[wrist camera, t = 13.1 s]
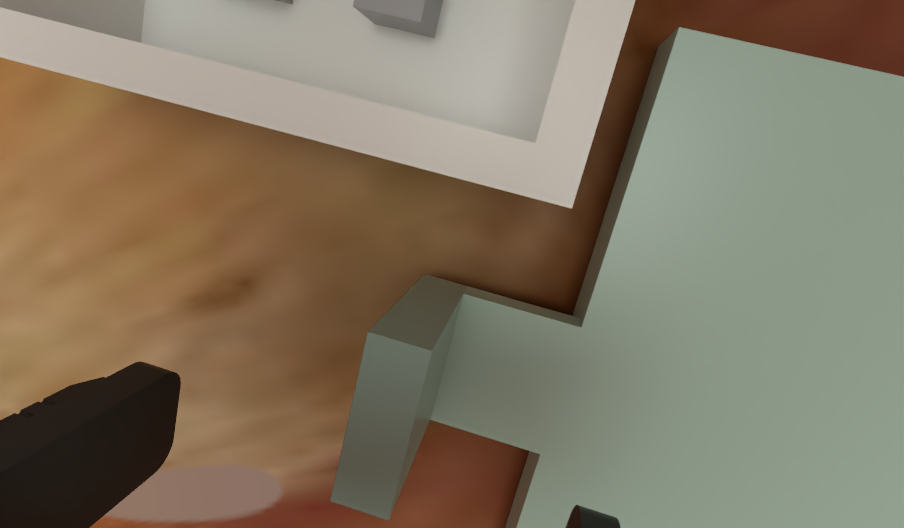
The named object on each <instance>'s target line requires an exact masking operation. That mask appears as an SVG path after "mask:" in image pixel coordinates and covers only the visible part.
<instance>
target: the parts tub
mask: <svg viewBox="0 0 904 528" xmlns="http://www.w3.org/2000/svg"><path fill="white" fill-rule="evenodd" d="M634 3H635V0H0V57H2V58H5V59H9V60H13V61H17V62H21V63H24V64H28V65H32V66H36V67H39V68H43V69H47V70H51V71H55V72H58V73H62V74H66V75H70V76H73V77H77V78H81V79H85V80H88V81H92V82H96V83H100V84H104V85H107V86H111V87H115V88H119V89H122V90H126V91H130V92H134V93H137V94H141V95H145V96H149V97H153V98H156V99H160V100H164V101H168V102H171V103H175V104H179V105H183V106H186V107H190V108H194V109H198V110H202V111H205V112H209V113H213V114H217V115H220V116H224V117H228V118H232V119H236V120H239V121H243V122H247V123H251V124H254V125H258V126H262V127H266V128H269V129H273V130H277V131H281V132H285V133H288V134H292V135H296V136H300V137H303V138H307V139H311V140H315V141H318V142H322V143H326V144H330V145H334V146H337V147H341V148H345V149H349V150H352V151H356V152H360V153H364V154H368V155H371V156H375V157H379V158H383V159H386V160H390V161H394V162H398V163H401V164H405V165H409V166H413V167H417V168H420V169H424V170H428V171H432V172H435V173H439V174H443V175H447V176H450V177H454V178H458V179H462V180H466V181H469V182H473V183H477V184H481V185H484V186H488V187H492V188H496V189H500V190H503V191H507V192H511V193H515V194H518V195H522V196H526V197H530V198H533V199H537V200H541V201H545V202H549V203H552V204H556V205H560V206H564V207H567V208H571V209H572V207H573V203H574V200H575V197H576V194H577V190H578V187H579V184H580V180H581V177H582V174H583V171H584V167H585V164H586V161H587V158H588V154H589V151H590V148H591V144H592V141H593V138H594V135H595V131H596V128H597V125H598V121H599V118H600V115H601V112H602V108H603V105H604V102H605V99H606V95H607V92H608V89H609V85H610V82H611V79H612V76H613V72H614V69H615V66H616V62H617V59H618V56H619V53H620V49H621V46H622V43H623V40H624V36H625V33H626V30H627V26H628V23H629V20H630V17H631V13H632V10H633V7H634Z"/></svg>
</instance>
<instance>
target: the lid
mask: <svg viewBox="0 0 904 528" xmlns="http://www.w3.org/2000/svg"><path fill="white" fill-rule="evenodd" d="M430 420H433V421H436V422H439V423H442V424H445V425H449V426H452V427H455V428H458V429H461V430H464V431H468V432H471V433H474V434H477V435H480V436H484V437H487V438H490V439H493V440H496V441H499V442H503V443H506V444H509V445H512V446H515V447H519V448H522V449H525V450H528V451H529V454H528V457H527V460H526V463H525V466H524V469H523V472H522V475H521V479H520V482H519V485H518V488H517V491H516V494H515V497H514V501H513V504H512V507H511V510H510V513H509V516H508V519H507V523H506V526H505V528H566V525H567V522H568V520H569V517H570V514H571V512H572V510H573V508H574V507H575V505H579V506H582V507H585V508H588V509H592V510H595V511H598V512H601V513H604V514H607V515H610V516H613V517H616V518H617V519H618V520H619V523H620V528H904V77H902V76H897V75H893V74H888V73H884V72H879V71H875V70H870V69H866V68H861V67H857V66H852V65H848V64H843V63H839V62H834V61H830V60H825V59H821V58H816V57H812V56H807V55H803V54H798V53H794V52H789V51H785V50H780V49H776V48H771V47H767V46H762V45H758V44H753V43H749V42H744V41H740V40H735V39H731V38H726V37H722V36H717V35H713V34H708V33H704V32H699V31H695V30H690V29H686V28H681V27H679V28H678V29H677V30H675V31H674V32H673V33H672V34H671V35H670V36H669V37H668V38H667V39H666V40H665V41H664V42H662V43H661V44H660V45H659V46H658V49H657V52H656V55H655V58H654V61H653V65H652V68H651V71H650V74H649V77H648V80H647V83H646V87H645V90H644V93H643V96H642V99H641V102H640V105H639V109H638V112H637V115H636V118H635V121H634V124H633V127H632V130H631V134H630V137H629V140H628V143H627V146H626V149H625V152H624V156H623V159H622V162H621V165H620V168H619V171H618V174H617V178H616V181H615V184H614V187H613V190H612V193H611V196H610V199H609V203H608V206H607V209H606V212H605V215H604V218H603V221H602V225H601V228H600V231H599V234H598V237H597V240H596V243H595V247H594V250H593V253H592V256H591V259H590V262H589V265H588V268H587V272H586V275H585V278H584V281H583V284H582V287H581V290H580V294H579V297H578V300H577V303H576V306H575V309H574V312H573V316H571V315H567V314H564V313H560V312H557V311H553V310H550V309H546V308H542V307H539V306H535V305H532V304H528V303H525V302H521V301H518V300H514V299H511V298H507V297H504V296H500V295H497V294H493V293H490V292H486V291H483V290H479V289H476V288H472V287H469V286H465V285H462V284H458V283H455V282H451V281H448V280H444V279H441V278H437V277H434V276H430V275H427V274H424V275H423V276H422V277H421V278H420V279H419V280H418V281H417V282H416V283H415V284H414V285H413V286H412V287H411V288H410V289H409V290H408V291H407V292H406V293H405V294H404V295H403V296H402V297H401V298H400V299H399V300H398V301H397V302H396V304H395V305H394V306H393V307H392V308H391V309H390V310H389V311H388V312H387V313H386V314H385V315H384V316H383V317H382V318H381V319H380V320H379V321H378V322H377V323H376V324H375V325H374V326H373V327H372V328H371V329H370V330H369V331H368V333H367V338H366V342H365V347H364V351H363V356H362V360H361V365H360V369H359V374H358V378H357V383H356V387H355V392H354V396H353V401H352V405H351V410H350V414H349V419H348V423H347V428H346V432H345V437H344V441H343V446H342V450H341V455H340V459H339V464H338V468H337V473H336V477H335V482H334V486H333V491H332V495H331V500H330V501H332V502H335V503H338V504H340V505H343V506H346V507H349V508H352V509H355V510H358V511H361V512H364V513H367V514H370V515H373V516H376V517H379V518H382V519H385V520H388V521H389V519H390V516H391V514H392V511H393V509H394V507H395V504H396V502H397V499H398V497H399V494H400V492H401V490H402V487H403V485H404V482H405V480H406V477H407V475H408V473H409V470H410V468H411V465H412V463H413V460H414V458H415V456H416V453H417V451H418V448H419V446H420V443H421V441H422V439H423V436H424V434H425V431H426V429H427V426H428V424H429V422H430Z"/></svg>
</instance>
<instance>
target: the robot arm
mask: <svg viewBox="0 0 904 528" xmlns="http://www.w3.org/2000/svg"><path fill="white" fill-rule="evenodd" d="M180 384H181V382H180V377H179V375H178V374H177V373H175V372H172V371H169V370H166V369H163V368H160V367H157V366H154V365H151V364H147V363H144V362H136V363H134V364H132V365H130V366H128V367H126V368H124V369H122V370H120V371H118V372H116V373H114V374H112V375H110V376H108V377H107V378H104V377H102V378H98V379H94V380H90V381H86V382H82V383H78V384H74V385H71V386H69V387H67V388H65V389H63V390H61V391H59V392H57V393H55V394H53V395H51V396H49V397H47V398H44V400H43V401H42V402H36V403H34V404H32V405H30V406H28V407H26V408H24V409H22V410H21V411H20V413H19V414H15V413H14V414H12V415H10V416H8V417H6V418H4V419H2V420H0V528H89V527H90V526H92V525H93V524H94V523H95V522H96V521H98V520H99V519H100V518H101V517H102V516H104V515H105V514H106V513H107V512H108V511H110V510H111V509H112V508H113V507H114V506H116V505H117V504H118V503H119V502H120V501H122V500H123V499H124V498H125V497H126V496H128V495H129V494H130V493H131V492H132V491H134V490H135V489H136V488H137V487H138V486H139V485H141V484H142V483H143V482H145V481H146V480H147V479H148V478H149V477H150V476H152V475H153V474H154V473H155V472H156V471H157V470H158V469H159V468H160V467H161V465H162V464H163V463H164V461H165V460H166V458H167V456H168V454H169V452H170V450H171V447H172V444H173V439H174V431H175V423H176V416H177V408H178V400H179V393H180ZM566 528H620V523H619V520H618V519H617V518H616V517H613V516H610V515H607V514H604V513H601V512H598V511H595V510H592V509H588V508H585V507H582V506H579V505H575V507H574V508H573V510H572V512H571V514H570V517H569V520H568V522H567V525H566Z"/></svg>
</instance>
